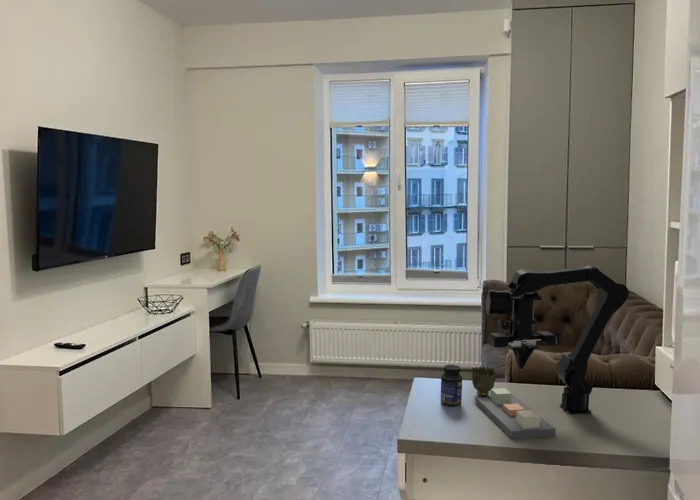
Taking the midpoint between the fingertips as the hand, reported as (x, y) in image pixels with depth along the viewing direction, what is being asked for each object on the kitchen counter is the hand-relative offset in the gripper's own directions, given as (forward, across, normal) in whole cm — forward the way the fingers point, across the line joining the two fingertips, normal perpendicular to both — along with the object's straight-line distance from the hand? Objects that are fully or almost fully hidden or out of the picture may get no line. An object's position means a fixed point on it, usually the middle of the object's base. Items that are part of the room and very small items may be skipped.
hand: (520, 368), depth 174 cm
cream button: (+10, +5, +16) cm, 19 cm away
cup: (+12, +6, -12) cm, 18 cm away
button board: (+12, +5, +7) cm, 15 cm away
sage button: (+10, +5, -2) cm, 12 cm away
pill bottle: (+12, +18, -7) cm, 23 cm away
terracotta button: (+12, +5, +7) cm, 15 cm away
